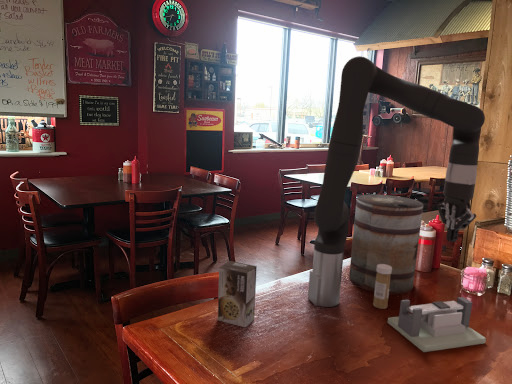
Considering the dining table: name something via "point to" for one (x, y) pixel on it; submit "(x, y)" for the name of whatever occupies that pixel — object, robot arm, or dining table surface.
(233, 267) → the coffee box
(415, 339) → the board
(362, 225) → the barrel
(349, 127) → the robot arm
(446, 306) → the clamp bar
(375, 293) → the sprinkles bottle
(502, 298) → the dining table surface
